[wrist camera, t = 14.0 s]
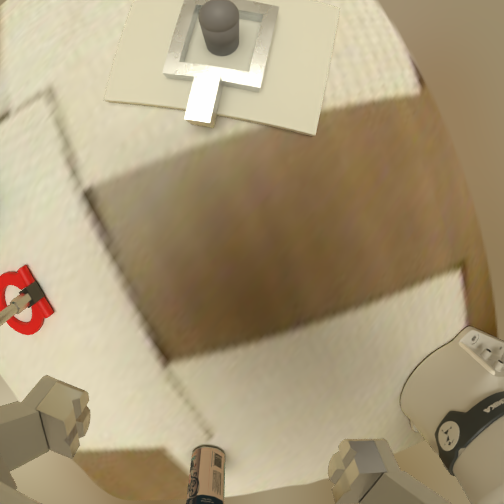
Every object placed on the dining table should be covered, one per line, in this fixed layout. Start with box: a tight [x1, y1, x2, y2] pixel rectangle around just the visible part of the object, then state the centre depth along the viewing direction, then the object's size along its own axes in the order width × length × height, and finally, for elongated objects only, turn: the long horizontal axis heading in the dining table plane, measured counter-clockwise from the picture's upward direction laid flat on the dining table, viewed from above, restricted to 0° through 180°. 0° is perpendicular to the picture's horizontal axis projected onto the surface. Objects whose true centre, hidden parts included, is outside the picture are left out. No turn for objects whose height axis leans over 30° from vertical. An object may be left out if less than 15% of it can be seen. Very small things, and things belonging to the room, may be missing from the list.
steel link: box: [162, 0, 279, 128], centre depth 23 cm, size 12×8×4 cm
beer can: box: [186, 447, 225, 504], centre depth 34 cm, size 5×5×12 cm
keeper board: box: [104, 0, 340, 136], centre depth 22 cm, size 20×14×9 cm
